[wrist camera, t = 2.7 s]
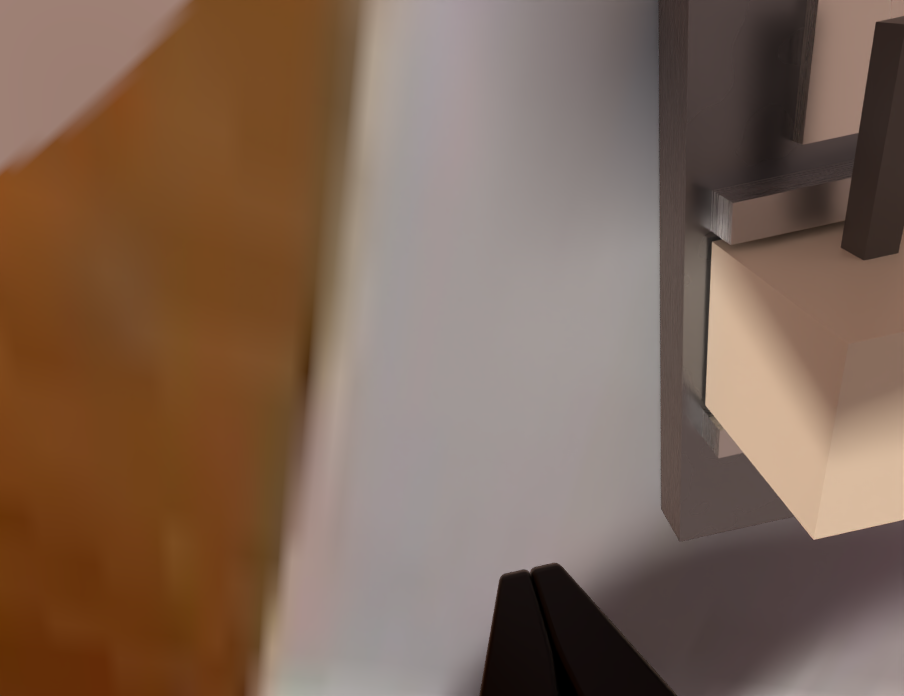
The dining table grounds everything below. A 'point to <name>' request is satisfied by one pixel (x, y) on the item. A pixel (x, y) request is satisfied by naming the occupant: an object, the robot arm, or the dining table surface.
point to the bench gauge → (742, 199)
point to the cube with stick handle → (824, 334)
